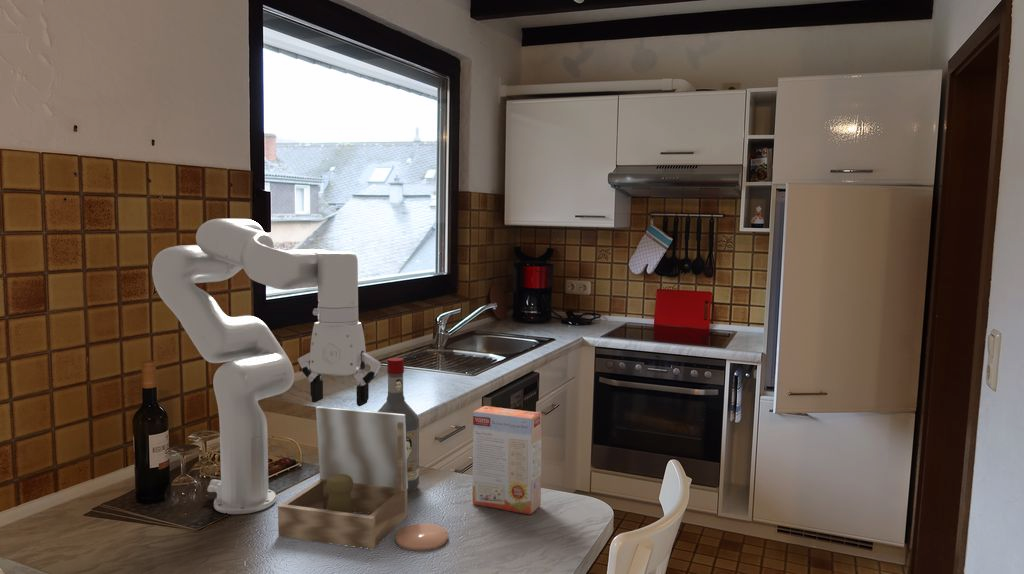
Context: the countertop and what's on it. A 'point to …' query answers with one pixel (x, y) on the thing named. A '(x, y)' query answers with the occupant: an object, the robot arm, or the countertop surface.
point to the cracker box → (507, 459)
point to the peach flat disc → (421, 537)
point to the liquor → (399, 406)
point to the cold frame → (376, 480)
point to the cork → (340, 493)
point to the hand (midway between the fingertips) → (339, 402)
